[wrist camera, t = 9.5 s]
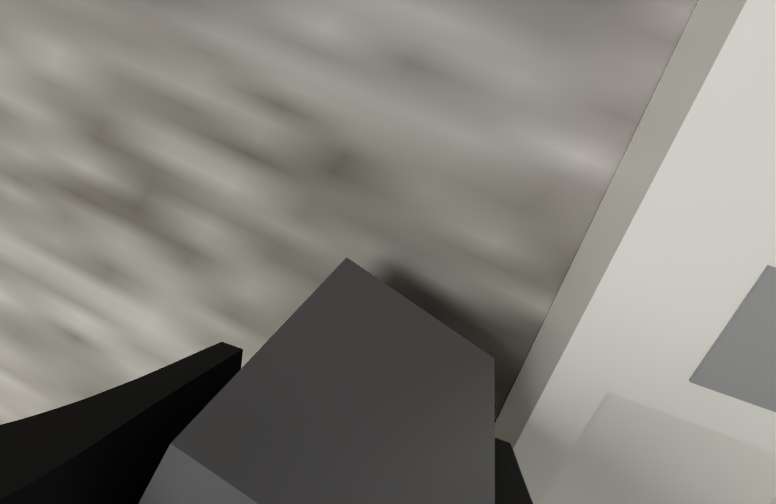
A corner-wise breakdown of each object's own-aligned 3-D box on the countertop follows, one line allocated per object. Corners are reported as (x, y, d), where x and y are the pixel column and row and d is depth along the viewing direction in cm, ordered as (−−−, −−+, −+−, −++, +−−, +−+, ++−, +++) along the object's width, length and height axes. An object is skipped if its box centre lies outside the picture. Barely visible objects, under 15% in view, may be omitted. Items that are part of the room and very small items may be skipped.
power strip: (1277, -38, 8) (1803, -133, 5) (668, 621, 16) (710, 744, 13) (766, -140, 9) (913, -271, 6) (445, 526, 17) (434, 620, 14)
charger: (494, 358, 12) (495, 666, 5) (400, 459, 14) (318, 771, 7) (346, 257, 12) (170, 443, 5) (274, 372, 14) (83, 608, 7)
